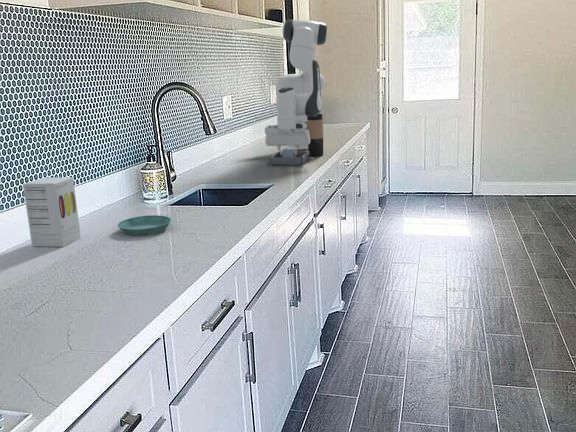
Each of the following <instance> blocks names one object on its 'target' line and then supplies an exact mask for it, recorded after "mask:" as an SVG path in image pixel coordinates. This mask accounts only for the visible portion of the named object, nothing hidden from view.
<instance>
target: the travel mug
mask: <svg viewBox="0 0 576 432" xmlns="http://www.w3.org/2000/svg"><path fill="white" fill-rule="evenodd" d="M323 117H324V116H323V113H319V114H318V115H317V116H315V117H312V116H307V129H308V131H309V134H310V144H309V145H308V149H307V151H308V157H312V158H316V157H323V156H324V121H323V120H324V119H323Z"/></svg>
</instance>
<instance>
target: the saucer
mask: <svg viewBox="0 0 576 432" xmlns="http://www.w3.org/2000/svg"><path fill="white" fill-rule="evenodd" d="M171 221H172V218H171V217H168V216H166V215H159V214H158V215H152V214H151V215H140V216H134V217H129V218H126V219H124V220H121V221H120V222H118V223H117V224H116V225H117V228H119V230H120V231H122V232H124V234H126V235H128V236H149V235H155V234H159V233H162V232H164V231H165V230H166V229H167V228H168V227H169V226H170V224H171Z"/></svg>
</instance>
